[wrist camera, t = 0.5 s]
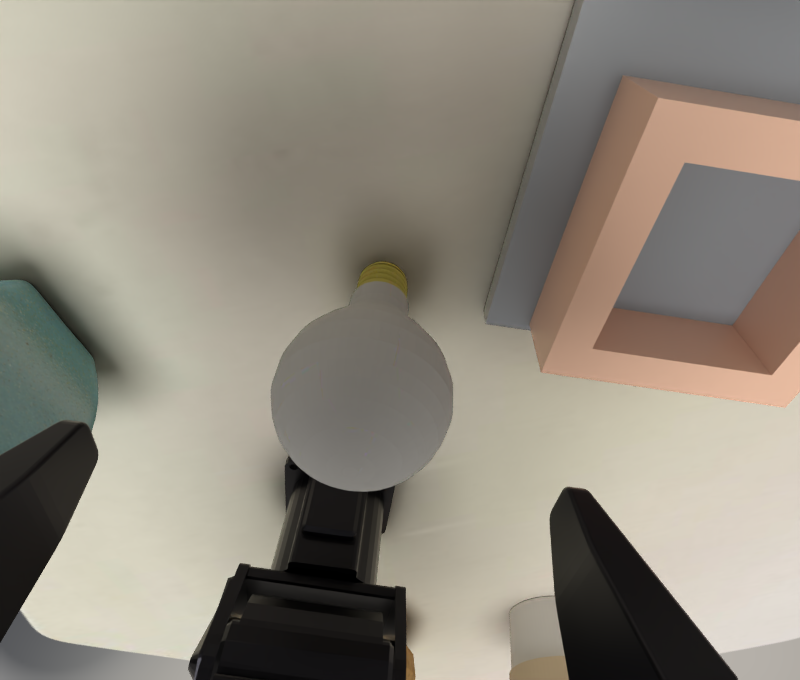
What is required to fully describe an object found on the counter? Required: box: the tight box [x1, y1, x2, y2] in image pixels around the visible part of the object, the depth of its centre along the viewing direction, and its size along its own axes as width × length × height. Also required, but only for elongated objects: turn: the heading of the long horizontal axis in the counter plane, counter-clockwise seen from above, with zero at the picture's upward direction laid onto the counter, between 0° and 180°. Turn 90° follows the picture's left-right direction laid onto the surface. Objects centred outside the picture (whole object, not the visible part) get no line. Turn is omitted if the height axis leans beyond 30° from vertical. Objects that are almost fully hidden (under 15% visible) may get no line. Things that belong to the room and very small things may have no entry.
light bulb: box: [271, 261, 453, 492], centre depth 17 cm, size 6×6×10 cm
